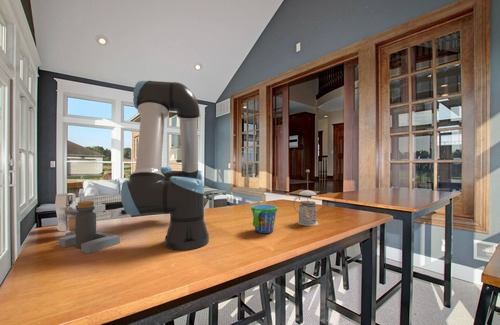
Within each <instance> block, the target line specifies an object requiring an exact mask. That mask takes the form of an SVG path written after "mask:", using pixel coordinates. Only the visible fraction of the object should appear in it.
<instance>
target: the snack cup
mask: <svg viewBox="0 0 500 325" xmlns="http://www.w3.org/2000/svg"><path fill="white" fill-rule="evenodd" d="M250 209H251V212H252V216H253V219H252V226H253V227H254V229H255V232H256V233H259V234H270V233H272V232H273V231H274V228H275V223H276V214H277V211H278V206H276V205H272V204H255V205H252V206H251V207H250Z"/></svg>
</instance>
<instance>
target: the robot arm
mask: <svg viewBox="0 0 500 325" xmlns="http://www.w3.org/2000/svg"><path fill="white" fill-rule="evenodd" d="M132 95H133V99H132V102H133V106H134V108H135V109H136V110H137V112H138V114H139V115H140V124H139V133H138V140H137V141H138V142H137V150H136V152H137V153H136V162H135V168H134V170H135V171H133V172H131V173H130V174H129V178H128V179H129V180H125V181H123V182H122V185H121V187H120V188H121V190H120V195H121V196H120V197H121V198H120V199H121V201H114V202H102V203H101V204H97V205H94V206H95V209H94V210H93V212H94V213H96V214H97V213H105V212H106V211H110V218H111V219H114V218H118V217H122V216H123V217H124V216H127V215H129V216H141V217H143V216H150V215H151V216H152V215H153V216H154V215H156V216H157V215H170V216H169V217H170V220H169V221H170V222H169V225H168V228H167V231H166V235H165V237H164V246H165V247H166V248H168V249H170V250H174V251H175V250H178V251H185V250H186V251H187V250H188V251H189V250H193V249H194V250H195V249H199V248H202V247H204V246H206V245H207V244H208V243H209V242H210V235H209V232H208V228H207V224H206V223H205V202H204V200H205V198H204V196H205V190H204V188H205V187H204V182H203V171H202V170H199V159H198V158H199V157H198V156H199V155H198V154H199V153H198V151H199V150H198V148H199V147H198V146H199V145H198V143H199V142H198V140H199V139H198V119H199V118H200V115H201V114H200V106H199V103H198V100H197V98H196V97H195V94H194V93H193V91H192V90H191V89H190V88H188V87H187V85H185V84H183V83H181V82H177V81H172V82H170V81H156V80H150V79H148V80H139V81H137V82H136V83H135V85H134V89H133V94H132ZM170 112H176V117H177V118H178V119H179V135H180V156H181V170H172V167H170V166H162V162H163V161H162V160H163V147H164V146H163V145H164V133H165V132H164V130H165V119H167V118H168V117H169V114H170Z"/></svg>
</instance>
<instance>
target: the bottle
mask: <svg viewBox="0 0 500 325" xmlns="http://www.w3.org/2000/svg"><path fill="white" fill-rule="evenodd" d="M94 202H95V201H94V200H84V201H78V202H76V205H77V207H76V208H77V211H79V214H77V215H76V218H75V232H76V244H75V248H76V249H81V244H82V243H86V242H89V241H92V240H96V231H97V213H94V212H93V210H94V209H95V206H96V205H94V204H95V203H94Z"/></svg>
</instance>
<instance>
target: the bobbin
mask: <svg viewBox="0 0 500 325" xmlns="http://www.w3.org/2000/svg"><path fill="white" fill-rule="evenodd" d="M77 208H78V207H76V209H69V210H66V211H65V214H67V215H70V217H68V228H69V232H68V231H67V232H66V233H65V234H64V237H65V236H69V235H73V234H76V232H75V218H76V215H77V214H79V211H77Z"/></svg>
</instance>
